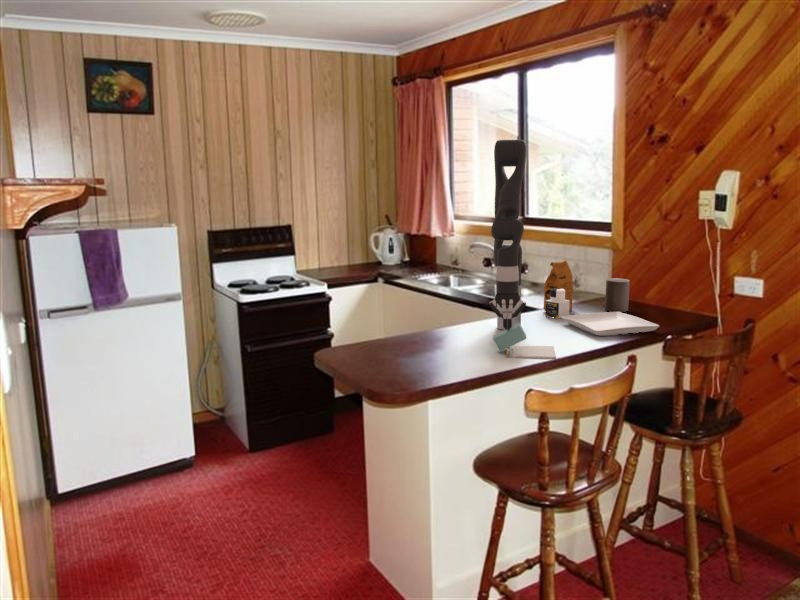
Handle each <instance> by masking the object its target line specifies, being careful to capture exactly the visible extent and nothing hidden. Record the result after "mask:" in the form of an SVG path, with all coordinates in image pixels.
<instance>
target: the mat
mask: <svg viewBox="0 0 800 600" xmlns="http://www.w3.org/2000/svg"><path fill="white" fill-rule="evenodd" d="M512 358H513V359H545V358H552V359H551V360H553V359H555V360H556V359H557V355H556V351H555V347H554V345H519V344H515V345H513V346H512Z"/></svg>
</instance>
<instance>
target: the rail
mask: <svg viewBox="0 0 800 600" xmlns="http://www.w3.org/2000/svg"><path fill="white" fill-rule="evenodd" d="M506 358H507V359H510V358H511V347H509V348H507V349H506Z"/></svg>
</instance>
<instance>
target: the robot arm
mask: <svg viewBox="0 0 800 600" xmlns="http://www.w3.org/2000/svg"><path fill="white" fill-rule="evenodd" d="M493 155H494V156H493V158H494V159H493V161H494V176H495V178H494V179H495V189H494V220H493V222H492V224H491V227H490V228H491V230H490V233H491V234H490V235H491V236H492V239H494V242H493V264H494V267H496V272H495V279H496V280H495V289H496V290H495V295H494V299H493V300H491V301H489V302H488V306H489V307H490V309H492V311H493V312H494V314H496V316H497V317H496V318H497V319H496V323H497V325H496V328H497V329H499V330H501V331H503V330H510V328H511V327H512V326H513V325H515V324H517V323H520V325H521V326H522V324H521V323H522V322H521V321H522V311H523V310H524V308H525V307H526V306H527V302H526V301H524V300H522V263H523V262H522V261H523V249H522V245H521V241H522V238H523V235H524V230H525V226H524V223H523V222H522V220H520V219H519V218H520V214H521V213H520V212H521V189H522V183H523V179H524V174H525V168H526V162H527V143H526V141H525V140H524V139H499V140H496V142H495V144H494V151H493ZM505 167H510V168H511V167H513V168H514V171H513V172H512V173H511V175H510V177H509V178H508V176H507V174H506V171H505ZM504 241H512V243H504Z"/></svg>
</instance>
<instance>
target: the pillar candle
mask: <svg viewBox="0 0 800 600" xmlns="http://www.w3.org/2000/svg"><path fill="white" fill-rule="evenodd" d="M630 281H631V280H630V279H628V278H627V279H626V278H620V277H618V276H617V277H615V278H614V277H613V278H607V279H606V281H605V299H604V300H605V301H604V302H605V303H604V304H605V306H604V311H605V310H606V311H605V312H607V311H611V312H626V311H628V312H629V304H630V303H629V301H630V299H629V298H630ZM626 313H627V312H626Z"/></svg>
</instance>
